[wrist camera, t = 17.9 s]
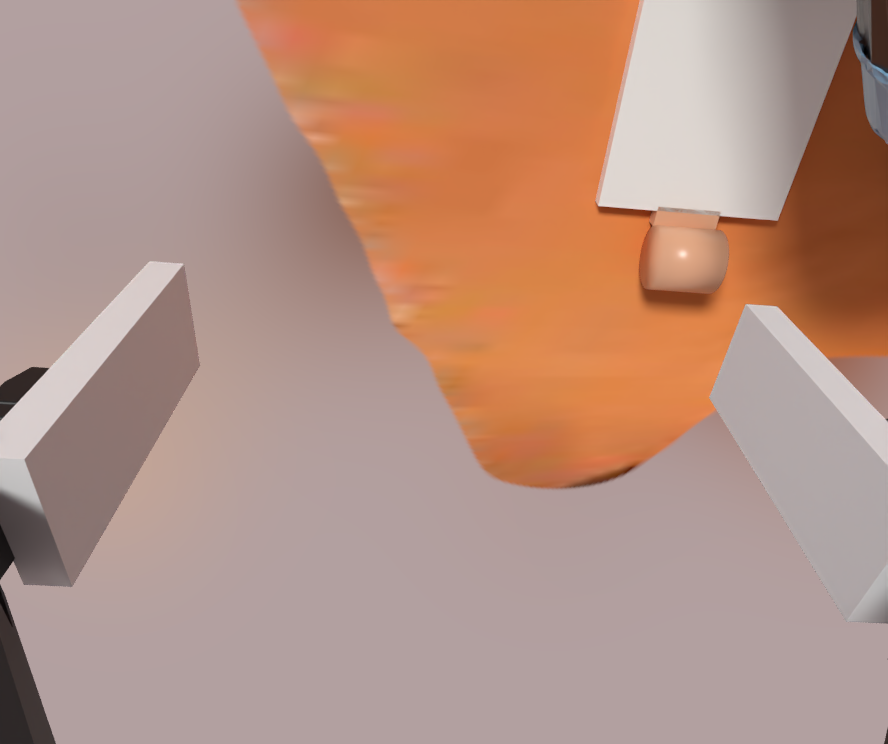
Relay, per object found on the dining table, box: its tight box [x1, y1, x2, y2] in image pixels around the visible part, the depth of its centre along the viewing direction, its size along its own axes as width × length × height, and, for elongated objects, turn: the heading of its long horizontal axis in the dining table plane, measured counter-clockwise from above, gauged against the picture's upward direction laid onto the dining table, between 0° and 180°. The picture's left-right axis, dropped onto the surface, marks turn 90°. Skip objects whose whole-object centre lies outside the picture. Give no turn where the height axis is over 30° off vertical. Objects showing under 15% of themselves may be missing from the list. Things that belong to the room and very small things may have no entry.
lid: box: [595, 0, 857, 294], centre depth 39 cm, size 22×13×4 cm, turn 175°
